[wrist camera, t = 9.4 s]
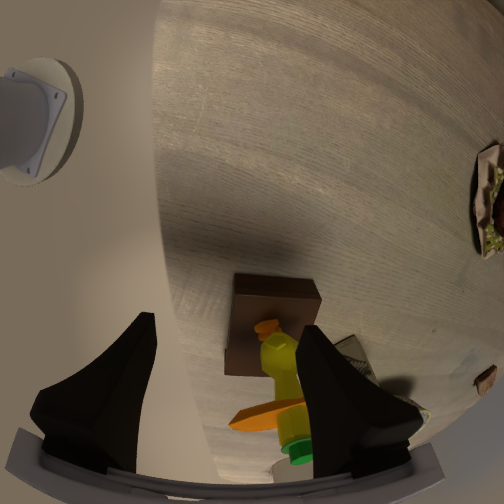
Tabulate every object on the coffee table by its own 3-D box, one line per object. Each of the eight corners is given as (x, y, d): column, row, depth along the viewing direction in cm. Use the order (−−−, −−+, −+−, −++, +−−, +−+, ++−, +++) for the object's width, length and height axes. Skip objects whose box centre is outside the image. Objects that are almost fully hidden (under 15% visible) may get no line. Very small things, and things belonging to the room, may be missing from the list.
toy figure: (236, 353, 23) (243, 479, 13) (219, 326, 22) (218, 466, 11) (309, 329, 23) (349, 455, 12) (299, 299, 21) (344, 439, 10)
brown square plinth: (234, 273, 23) (234, 293, 20) (313, 279, 24) (322, 299, 21) (224, 353, 27) (224, 375, 25) (288, 356, 28) (293, 377, 26)
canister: (269, 458, 44) (279, 541, 26) (345, 443, 44) (366, 522, 26) (274, 475, 51) (282, 540, 33) (336, 464, 51) (351, 526, 33)
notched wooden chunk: (487, 363, 43) (498, 364, 38) (491, 382, 41) (502, 384, 36) (468, 379, 43) (479, 380, 38) (472, 398, 41) (483, 401, 37)
